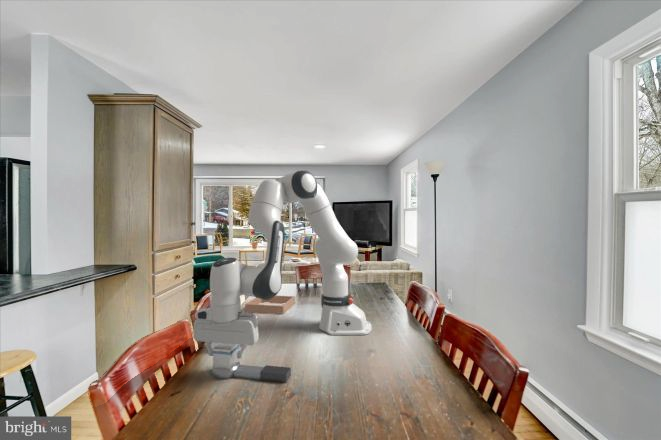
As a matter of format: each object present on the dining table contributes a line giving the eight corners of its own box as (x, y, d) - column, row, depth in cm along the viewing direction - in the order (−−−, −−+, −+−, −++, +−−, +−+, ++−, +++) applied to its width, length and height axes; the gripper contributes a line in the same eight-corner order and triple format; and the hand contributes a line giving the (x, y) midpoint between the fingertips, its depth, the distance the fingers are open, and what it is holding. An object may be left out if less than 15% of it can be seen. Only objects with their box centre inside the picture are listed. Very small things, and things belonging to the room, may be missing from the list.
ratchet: (292, 372, 98) (292, 353, 98) (284, 386, 90) (283, 365, 90) (221, 365, 103) (221, 347, 103) (207, 378, 95) (206, 358, 95)
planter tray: (295, 303, 173) (295, 296, 173) (283, 314, 155) (283, 306, 155) (260, 301, 177) (260, 294, 177) (245, 312, 159) (244, 304, 158)
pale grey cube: (239, 361, 100) (239, 342, 100) (230, 370, 95) (230, 350, 94) (222, 359, 101) (222, 341, 101) (212, 368, 96) (212, 348, 96)
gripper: (261, 310, 99) (262, 354, 99) (202, 307, 103) (202, 349, 103) (253, 316, 93) (253, 364, 93) (189, 313, 96) (190, 358, 97)
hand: (226, 356), depth 98 cm, fingers open, 8 cm apart
